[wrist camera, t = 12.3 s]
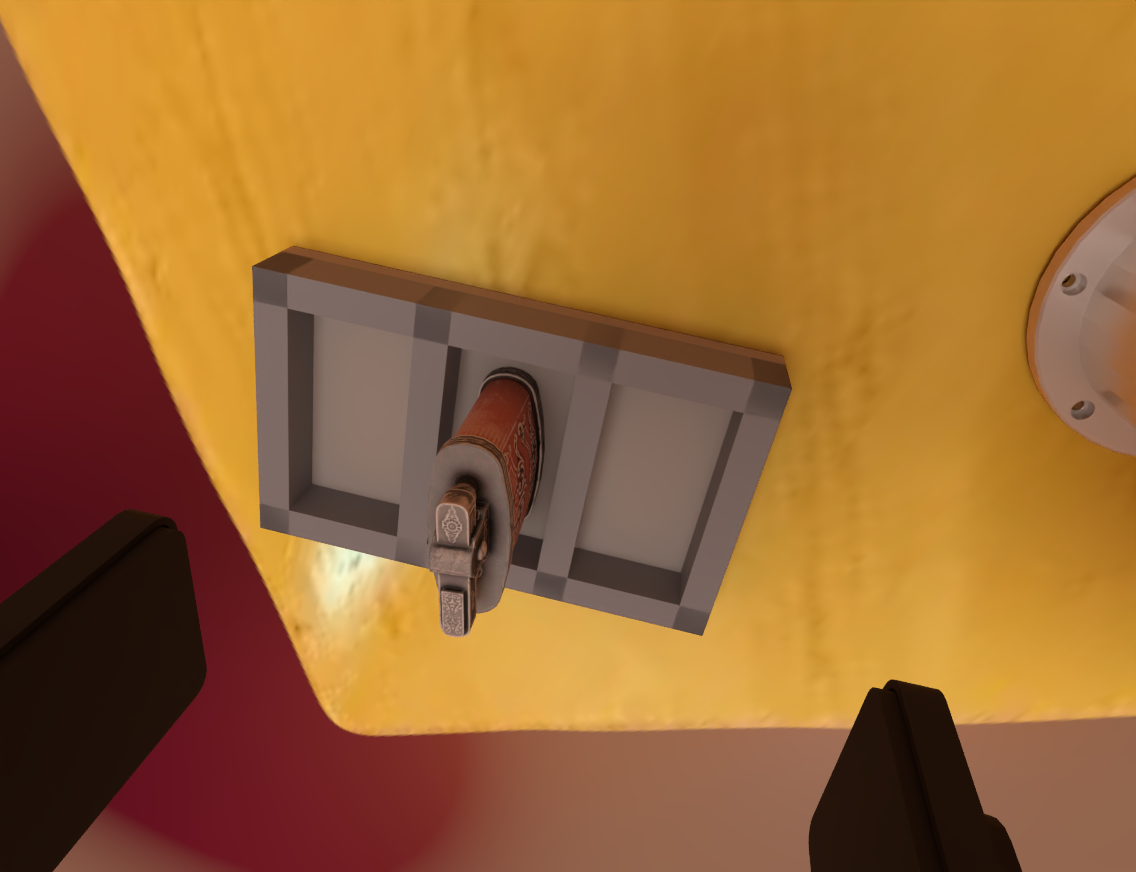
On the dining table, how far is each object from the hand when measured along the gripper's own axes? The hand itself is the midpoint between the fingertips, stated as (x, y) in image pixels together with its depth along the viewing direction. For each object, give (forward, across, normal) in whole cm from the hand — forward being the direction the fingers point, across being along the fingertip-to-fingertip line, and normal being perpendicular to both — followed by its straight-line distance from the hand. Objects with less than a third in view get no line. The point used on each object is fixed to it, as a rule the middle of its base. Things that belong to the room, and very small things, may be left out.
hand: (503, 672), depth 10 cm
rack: (+24, +5, +10) cm, 27 cm away
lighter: (+23, +5, +10) cm, 26 cm away
